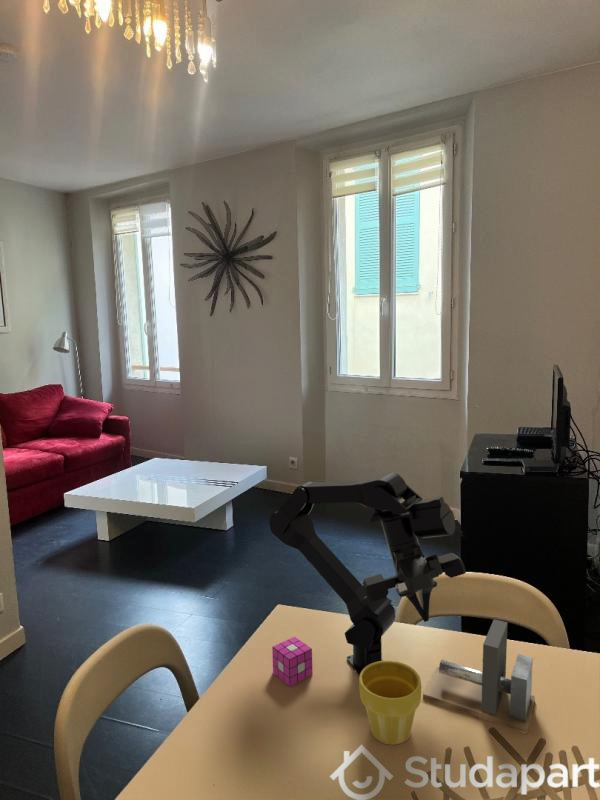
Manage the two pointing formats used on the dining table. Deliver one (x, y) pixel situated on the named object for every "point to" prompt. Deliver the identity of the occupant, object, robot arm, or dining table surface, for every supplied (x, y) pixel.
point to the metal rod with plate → (501, 683)
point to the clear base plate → (471, 700)
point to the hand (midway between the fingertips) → (426, 620)
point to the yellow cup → (390, 699)
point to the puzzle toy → (292, 661)
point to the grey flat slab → (493, 665)
